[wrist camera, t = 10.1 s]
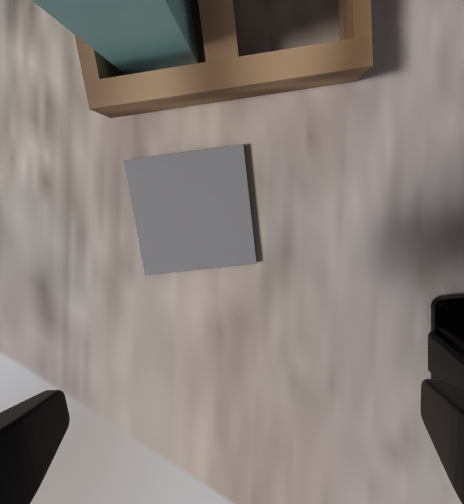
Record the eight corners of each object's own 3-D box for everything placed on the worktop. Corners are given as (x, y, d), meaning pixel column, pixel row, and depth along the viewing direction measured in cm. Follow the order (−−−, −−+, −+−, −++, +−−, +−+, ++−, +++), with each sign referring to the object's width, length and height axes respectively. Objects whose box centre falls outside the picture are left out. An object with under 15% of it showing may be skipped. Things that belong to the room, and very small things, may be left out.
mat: (243, 144, 19) (243, 144, 19) (256, 262, 21) (256, 263, 20) (126, 160, 20) (124, 160, 19) (147, 273, 21) (145, 275, 21)
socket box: (350, -95, 16) (369, -151, 14) (357, 80, 18) (376, 63, 15) (80, -41, 18) (47, -83, 15) (110, 117, 19) (85, 107, 17)
